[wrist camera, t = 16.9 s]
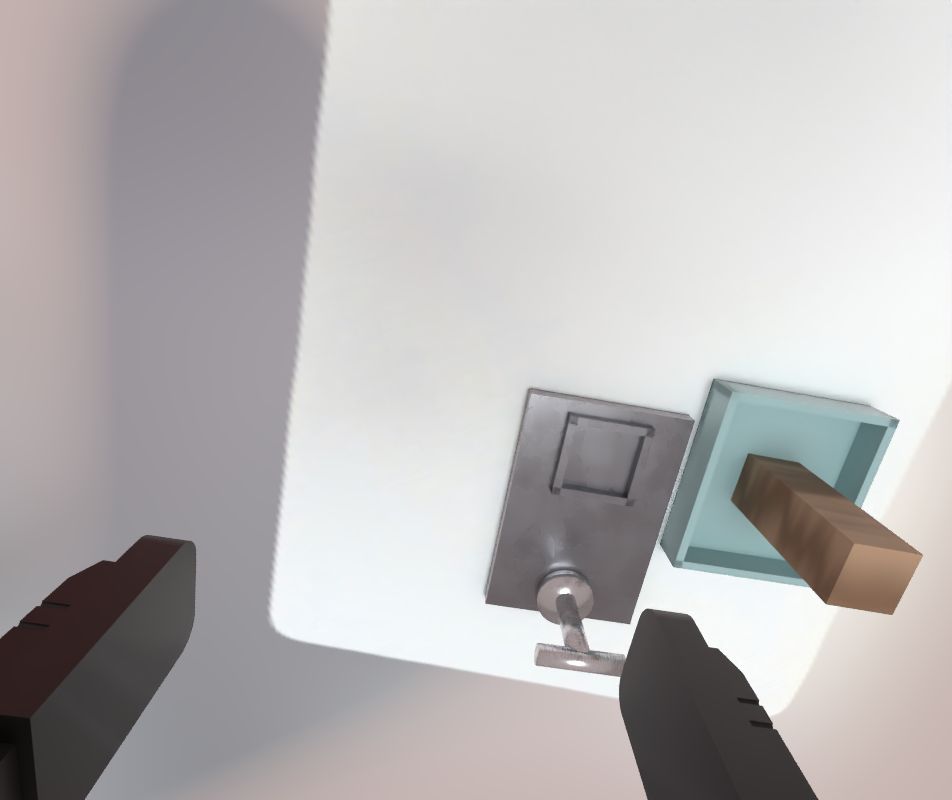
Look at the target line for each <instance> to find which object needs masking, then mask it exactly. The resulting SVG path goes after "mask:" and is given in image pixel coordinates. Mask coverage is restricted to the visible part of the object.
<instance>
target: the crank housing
mask: <svg viewBox="0 0 952 800" xmlns="http://www.w3.org/2000/svg"><path fill="white" fill-rule="evenodd" d="M694 422H695V421H694V420H693V419H692V418H691V417H690V416H689V415H684V414H678V413H672V412H666V411H660V410H654V409H648V408H642V407H636V406H630V405H624V404H618V403H613V402H607V401H601V400H595V399H589V398H583V397H577V396H571V395H565V394H559V393H553V392H547V391H541V390H535V389H529V394H528V398H527V403H526V408H525V412H524V417H523V421H522V426H521V431H520V435H519V440H518V445H517V449H516V454H515V458H514V463H513V468H512V472H511V477H510V481H509V486H508V491H507V495H506V500H505V505H504V509H503V514H502V518H501V523H500V528H499V532H498V537H497V541H496V546H495V551H494V555H493V560H492V565H491V569H490V574H489V578H488V583H487V588H486V592H485V604H492V605H499V606H506V607H513V608H520V609H527V610H534V611H540V613H541V614H542V616H543V617H544V618H545V619H547V620H548V621H550V622H552V623H555V624H559V625H560V626H561V630H562V635H563V639H564V644H565V647H564V646H556V645H549V644H542V643H537V644H536V648H535V665H536V666H544V667H551V668H558V669H566V670H573V671H580V672H588V673H595V674H602V675H610V676H617V677H621V673H622V670H623V667H624V664H625V661H626V658H625V656H624V655H621V654H614V653H607V652H600V651H593V650H589V646H588V643H587V639H586V635H585V632H584V628H583V624H582V621H581V620H582V619H584V618H590V619H597V620H604V621H611V622H618V623H625V624H630V622H631V618H632V615H633V612H634V609H635V606H636V603H637V600H638V597H639V593H640V590H641V587H642V584H643V581H644V578H645V575H646V572H647V568H648V565H649V562H650V559H651V556H652V553H653V550H654V547H655V544H656V540H657V537H658V534H659V531H660V528H661V525H662V522H663V519H664V515H665V512H666V509H667V506H668V503H669V500H670V497H671V494H672V490H673V487H674V484H675V481H676V478H677V475H678V472H679V469H680V465H681V462H682V459H683V456H684V453H685V450H686V447H687V444H688V440H689V437H690V434H691V431H692V428H693V425H694Z"/></svg>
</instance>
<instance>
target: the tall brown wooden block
mask: <svg viewBox="0 0 952 800" xmlns="http://www.w3.org/2000/svg"><path fill="white" fill-rule="evenodd" d="M731 501H732V503H733V504H734V505H735V506H736V507H737V508H738V509H739V510H740V511H741V512H742V513H743V514H744V516H745V517H746V518H747V519H748V520H749V521H750V522H751V523H752V524H753V525H754V526H755V528H756V529H757V530H758V531H759V532H760V533H761V534H762V535H763V536H764V537H765V538H766V539H767V541H768V542H769V543H770V544H771V545H772V546H773V547H774V548H775V549H776V550H777V551H778V553H779V554H780V555H781V556H782V557H783V558H784V559H785V560H786V561H787V562H788V563H789V565H790V566H791V567H792V568H793V569H794V570H795V571H796V572H797V573H798V574H799V575H800V576H801V578H802V579H803V580H804V581H805V582H806V583H807V584H808V585H809V586H810V587H811V588H812V590H813V591H814V592H815V593H816V594H817V595H818V596H819V597H820V598H821V599H822V600H823V601H824V603H825V604H828V605H834V606H840V607H846V608H853V609H859V610H865V611H871V612H877V613H883V614H889V615H892V614H893V613H894V611H895V608H896V607H897V605H898V603H899V601H900V599H901V597H902V595H903V593H904V591H905V590H906V588H907V586H908V584H909V582H910V580H911V578H912V576H913V574H914V572H915V570H916V568H917V566H918V564H919V562H920V561H921V559H922V557H923V555H922V554H921V553H920V552H918V551H917V550H916V549H914V548H913V547H912V546H910V545H909V544H908V543H906V542H905V541H904V540H902V539H901V538H900V537H898V536H897V535H896V534H894V533H893V532H892V531H890V530H889V529H887V528H886V527H885V526H883V525H882V524H881V523H879V522H878V521H877V520H875V519H874V518H873V517H871V516H870V515H869V514H867V513H866V512H865V511H863V510H862V509H861V508H859V507H858V506H857V505H855V504H854V503H853V502H851V501H850V500H849V499H847V498H846V497H845V496H843V495H842V494H841V493H839V492H838V491H837V490H835V489H834V488H833V487H831V486H830V485H828V484H827V483H826V482H824V481H823V480H822V479H820V478H819V477H818V476H816V475H815V474H814V473H812V472H811V471H810V470H808V469H807V468H806V467H804V466H803V465H802V464H800V463H799V462H794V461H788V460H783V459H777V458H772V457H766V456H761V455H755V454H749V453H748V455H747V458H746V461H745V463H744V466H743V469H742V471H741V474H740V477H739V479H738V482H737V484H736V487H735V490H734V492H733V495H732V498H731Z"/></svg>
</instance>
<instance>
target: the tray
mask: <svg viewBox="0 0 952 800" xmlns="http://www.w3.org/2000/svg"><path fill="white" fill-rule="evenodd" d="M899 421H900V420H899V419H896V418H894V417H892V416H890V415H888V414H886V413H884V412H882V411H879V410H877V409H875V408H873V407H871V406H867V405H861V404H856V403H850V402H844V401H838V400H832V399H827V398H821V397H815V396H809V395H803V394H798V393H792V392H786V391H780V390H774V389H769V388H763V387H757V386H751V385H746V384H740V383H734V382H728V381H722V380H717V379H714V380H713V383H712V386H711V390H710V393H709V396H708V399H707V402H706V405H705V408H704V411H703V414H702V417H701V420H700V424H699V427H698V430H697V433H696V436H695V439H694V442H693V445H692V448H691V451H690V454H689V458H688V461H687V464H686V467H685V470H684V473H683V476H682V479H681V482H680V485H679V488H678V492H677V495H676V498H675V501H674V504H673V507H672V510H671V513H670V516H669V519H668V522H667V526H666V529H665V532H664V535H663V538H662V541H661V544H660V545H661V547H662V548H663V550H664V552H665V553H666V555H667V557H668V559H669V560H670V562H671V564H672V565H673V567H677V568H683V569H690V570H697V571H703V572H710V573H717V574H723V575H730V576H737V577H743V578H750V579H757V580H763V581H770V582H777V583H784V584H790V585H797V586H804V587H810V586H809V585H808V584H807V583H806V582H805V581H804V580H803V579H802V578H801V576H800V575H799V574H798V573H797V572H796V571H795V570H794V569H793V568H792V567H791V566H790V565H789V563H788V562H787V561H786V560H785V559H784V558H783V557H782V556H781V555H780V554H779V553H778V551H777V550H776V549H775V548H774V547H773V546H772V545H771V544H770V543H769V542H768V541H767V539H766V538H765V537H764V536H763V535H762V534H761V533H760V532H759V531H758V530H757V529H756V528H755V526H754V525H753V524H752V523H751V522H750V521H749V520H748V519H747V518H746V517H745V516H744V514H743V513H742V512H741V511H740V510H739V509H738V508H737V507H736V506H735V505H734V504H733V503H732V501H731V498H732V495H733V492H734V490H735V487H736V484H737V482H738V479H739V477H740V474H741V471H742V469H743V466H744V463H745V461H746V458H747V455H748V453H749V454H755V455H761V456H766V457H772V458H777V459H783V460H788V461H794V462H799V463H800V464H802V465H803V466H804V467H806V468H807V469H808V470H810V471H811V472H812V473H814V474H815V475H816V476H818V477H819V478H820V479H822V480H823V481H824V482H826V483H827V484H828V485H830V486H831V487H833V488H834V489H835V490H837V491H838V492H839V493H841V494H842V495H843V496H845V497H846V498H847V499H849V500H850V501H851V502H853V503H854V504H855V505H857V506H858V507H859V508H861V507H862V504H863V502H864V500H865V498H866V495H867V493H868V491H869V488H870V486H871V484H872V482H873V479H874V477H875V475H876V473H877V470H878V468H879V466H880V464H881V461H882V459H883V457H884V455H885V452H886V450H887V448H888V446H889V443H890V441H891V439H892V437H893V434H894V432H895V430H896V428H897V425H898V423H899ZM810 588H811V587H810Z"/></svg>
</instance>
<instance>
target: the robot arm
mask: <svg viewBox="0 0 952 800" xmlns="http://www.w3.org/2000/svg"><path fill="white" fill-rule="evenodd" d="M195 580H196V548H195V545H194V543H193V542H192V541H186V540H179V539H172V538H165V537H159V536H152V535H145V536H143V537H141V538H140V539H139V540H138V541H137V542H136V543H135V544H134V545H133V546H132V547H131V548H129V550H127V551H126V552H125V553H124V554H123V555H122V556H121V557H120V558H119V559H118V560H117V561H116V562H111V561H105V560H103V561H101V562H99V563H97V564H95V565H93V566H91V567H89V568H87V569H85V570H83V571H81V572H79V573H77V574H75V575H73V576H71V577H69V578H68V579H67V580H66V581H64V582H63V583H62V584H61V585H60V586H59V587H58V588H56V590H54V591H53V592H52V593H51V594H50V595H49V596H48V597H46V598H45V599H44V600H43V601H42V604H41V606H36V607H35V608H34V609H33V610H32V611H31V612H30V613H28V614H27V615H26V616H25V617H24V618H23V619H22V620H21V621H20V623H19V625H18V627H13V628H12V629H11V630H9V631H8V632H7V633H6V634H5V635H4V636H3V637H2V638H1V639H0V800H85V798H86V796H87V795H88V793H89V792H90V790H91V789H92V788H93V786H94V785H95V783H96V782H97V780H98V778H99V777H100V776H101V774H102V772H103V771H104V769H105V768H106V766H107V765H108V763H109V762H110V760H111V759H112V757H113V756H114V754H115V753H116V751H117V750H118V748H119V747H120V745H121V744H122V742H123V741H124V739H125V738H126V736H127V735H128V733H129V732H130V730H131V729H132V727H133V726H134V724H135V723H136V721H137V720H138V718H139V717H140V715H141V713H142V712H143V711H144V709H145V708H146V706H147V705H148V703H149V702H150V700H151V699H152V697H153V696H154V694H155V693H156V691H157V690H158V688H159V687H160V685H161V684H162V682H163V681H164V679H165V677H166V676H167V675H168V673H169V672H170V670H171V669H172V667H173V666H174V664H175V662H176V661H177V659H178V658H179V657H180V655H181V653H182V652H183V650H184V648H185V646H186V644H187V642H188V639H189V636H190V634H191V630H192V627H193V622H194V616H195ZM619 701H620V708H621V713H622V717H623V720H624V723H625V726H626V730H627V733H628V736H629V740H630V743H631V746H632V749H633V753H634V756H635V759H636V763H637V766H638V769H639V772H640V776H641V779H642V782H643V785H644V789H645V792H646V796H647V799H648V800H818V798H817V797H816V795H815V793H814V792H813V790H812V788H811V787H810V785H809V784H808V782H807V780H806V778H805V777H804V775H803V773H802V772H801V770H800V768H799V767H798V765H797V763H796V762H795V760H794V758H793V756H792V755H791V753H790V752H789V750H788V748H787V746H786V745H785V743H784V742H783V740H782V738H781V736H780V735H779V733H778V731H777V730H775V729H773V726H772V724H773V723H772V721H771V720H770V718H769V716H768V715H767V713H766V711H765V710H764V708H763V706H759V699H758V698H757V696H756V694H755V693H754V691H753V689H752V688H751V686H750V684H749V683H748V681H747V679H746V678H745V676H744V674H743V673H742V672H741V671H740V670H739V669H738V668H737V667H736V666H735V665H734V664H733V663H732V662H731V661H730V660H729V659H728V658H727V657H726V656H725V655H724V654H723V653H722V652H721V651H720V650H719V649H717V648H710V647H708V645H707V643H706V642H705V640H704V638H703V636H702V634H701V633H700V631H699V629H698V627H697V625H696V624H695V622H694V620H693V619H692V617H691V616H689V615H688V614H682V613H675V612H668V611H661V610H654V609H645V610H644V611H643V612H642V614H641V616H640V618H639V621H638V624H637V627H636V630H635V633H634V636H633V639H632V643H631V646H630V649H629V652H628V655H627V658H626V661H625V664H624V667H623V670H622V673H621V678H620V685H619Z"/></svg>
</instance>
